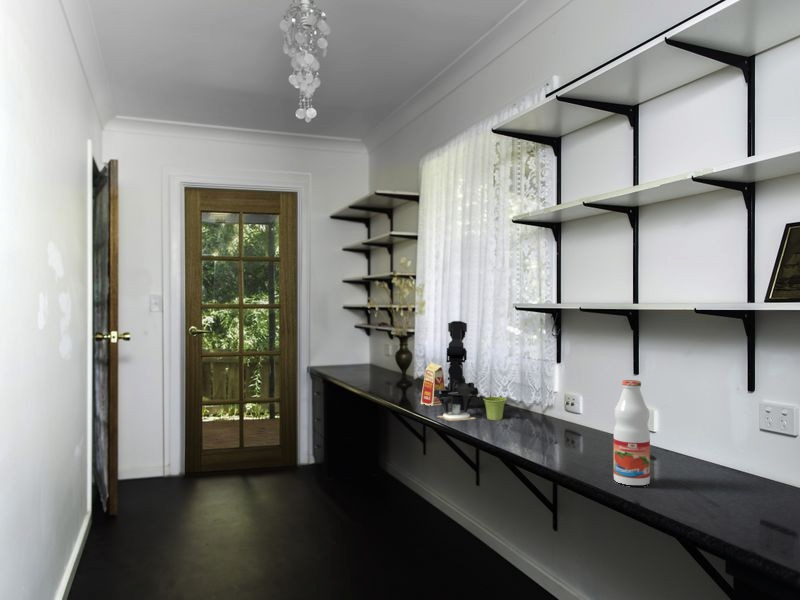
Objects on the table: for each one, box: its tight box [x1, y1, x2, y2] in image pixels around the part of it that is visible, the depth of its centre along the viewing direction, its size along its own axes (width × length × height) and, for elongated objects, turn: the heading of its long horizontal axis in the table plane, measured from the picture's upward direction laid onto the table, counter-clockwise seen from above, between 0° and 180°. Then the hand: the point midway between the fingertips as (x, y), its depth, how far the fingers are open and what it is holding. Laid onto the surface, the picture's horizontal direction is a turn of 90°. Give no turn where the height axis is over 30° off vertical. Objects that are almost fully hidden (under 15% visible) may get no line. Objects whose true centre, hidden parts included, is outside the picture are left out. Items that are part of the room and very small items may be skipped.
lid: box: [442, 404, 471, 421], centre depth 264 cm, size 11×11×5 cm
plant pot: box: [483, 396, 507, 421], centre depth 261 cm, size 9×9×9 cm
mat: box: [436, 414, 477, 422], centre depth 264 cm, size 12×12×1 cm
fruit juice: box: [613, 379, 651, 485], centre depth 174 cm, size 9×9×28 cm
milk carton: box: [420, 361, 446, 407], centre depth 299 cm, size 9×9×20 cm
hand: (456, 412), depth 264 cm, fingers open, 9 cm apart
